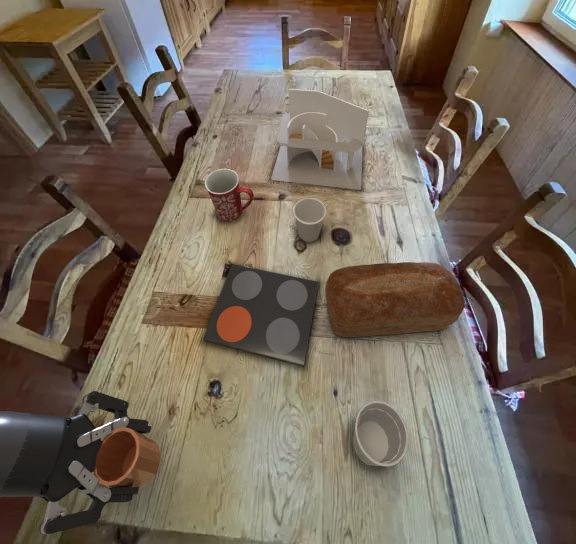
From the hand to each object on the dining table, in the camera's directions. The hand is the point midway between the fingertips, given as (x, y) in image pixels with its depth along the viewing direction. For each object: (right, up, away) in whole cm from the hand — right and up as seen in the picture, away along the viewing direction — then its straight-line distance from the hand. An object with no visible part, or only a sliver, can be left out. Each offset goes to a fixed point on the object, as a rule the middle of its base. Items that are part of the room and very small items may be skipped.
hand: (142, 458), depth 48 cm
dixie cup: (+27, +23, +45) cm, 56 cm away
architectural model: (+31, +42, +64) cm, 83 cm away
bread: (+43, +8, +29) cm, 52 cm away
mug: (+6, +27, +50) cm, 57 cm away
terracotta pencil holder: (-2, -4, +3) cm, 5 cm away
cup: (+36, -8, +13) cm, 39 cm away
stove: (+15, +8, +30) cm, 34 cm away
